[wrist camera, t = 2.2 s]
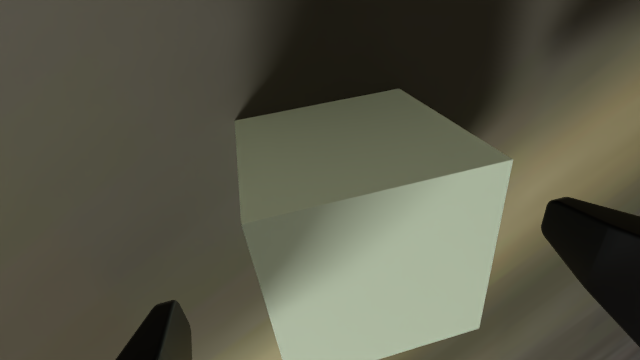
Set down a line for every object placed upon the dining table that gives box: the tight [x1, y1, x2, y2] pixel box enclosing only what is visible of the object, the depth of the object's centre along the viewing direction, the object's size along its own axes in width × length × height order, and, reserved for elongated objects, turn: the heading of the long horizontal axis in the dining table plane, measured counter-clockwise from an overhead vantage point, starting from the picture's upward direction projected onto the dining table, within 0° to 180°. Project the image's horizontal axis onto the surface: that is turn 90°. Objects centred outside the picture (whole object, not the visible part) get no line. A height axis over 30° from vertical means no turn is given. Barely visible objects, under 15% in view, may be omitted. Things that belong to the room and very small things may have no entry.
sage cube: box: [235, 89, 513, 360], centre depth 9 cm, size 5×5×5 cm
